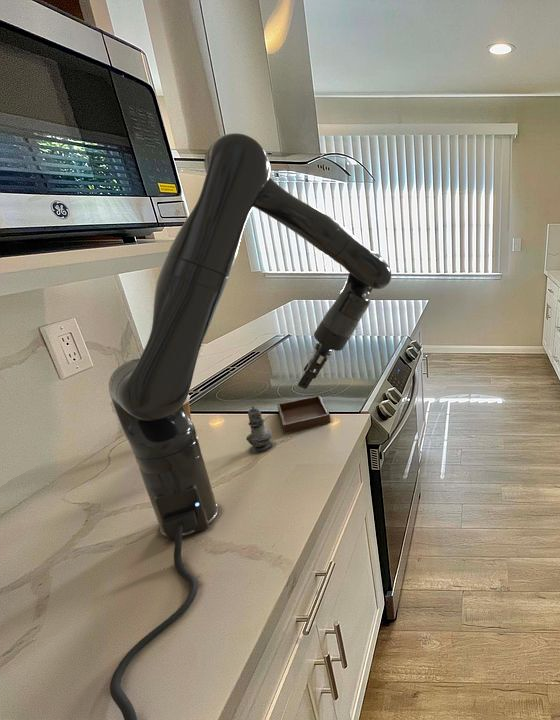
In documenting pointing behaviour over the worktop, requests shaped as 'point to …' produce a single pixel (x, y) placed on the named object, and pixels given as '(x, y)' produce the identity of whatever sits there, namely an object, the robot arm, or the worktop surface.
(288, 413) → the spice tray
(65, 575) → the worktop surface
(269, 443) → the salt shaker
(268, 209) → the robot arm
